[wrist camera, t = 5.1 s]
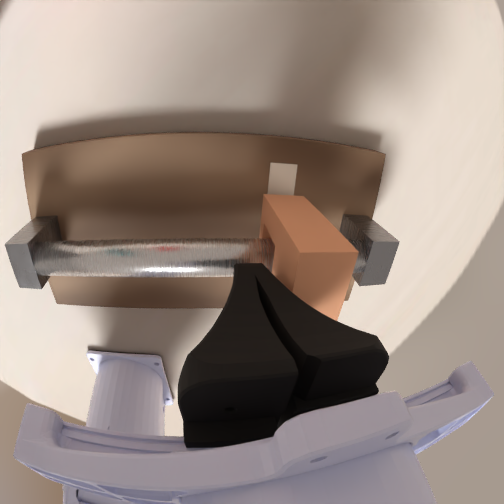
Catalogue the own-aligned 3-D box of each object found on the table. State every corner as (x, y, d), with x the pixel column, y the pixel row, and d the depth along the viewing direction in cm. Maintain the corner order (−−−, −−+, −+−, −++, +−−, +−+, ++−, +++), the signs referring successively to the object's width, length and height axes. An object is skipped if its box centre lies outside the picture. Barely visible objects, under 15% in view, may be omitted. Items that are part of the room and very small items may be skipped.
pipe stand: (357, 253, 19) (384, 284, 16) (45, 255, 15) (19, 287, 12) (367, 215, 18) (399, 241, 14) (35, 216, 14) (4, 244, 10)
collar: (290, 276, 18) (325, 351, 12) (255, 277, 18) (278, 357, 12) (303, 196, 15) (358, 252, 10) (263, 194, 15) (300, 252, 9)
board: (341, 289, 23) (348, 301, 21) (63, 292, 19) (56, 304, 17) (373, 150, 17) (386, 154, 16) (33, 149, 13) (20, 154, 11)
